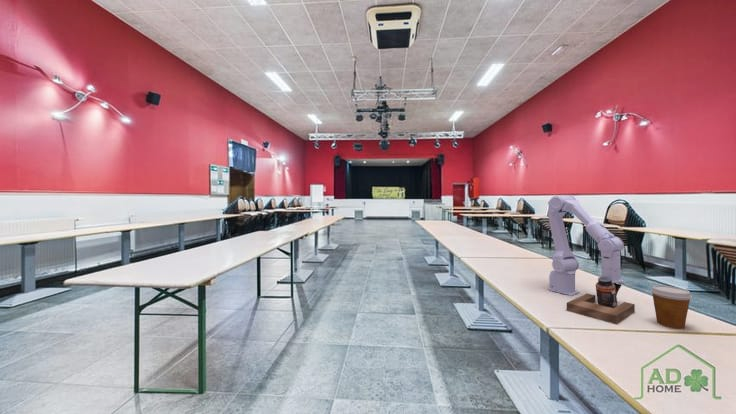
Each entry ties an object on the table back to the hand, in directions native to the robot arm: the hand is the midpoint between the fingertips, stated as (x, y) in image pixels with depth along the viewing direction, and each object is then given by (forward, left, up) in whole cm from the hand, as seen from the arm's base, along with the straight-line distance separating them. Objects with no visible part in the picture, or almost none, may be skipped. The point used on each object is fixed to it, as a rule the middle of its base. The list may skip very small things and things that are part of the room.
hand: (611, 301), depth 112 cm
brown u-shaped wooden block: (0, -10, -1) cm, 10 cm away
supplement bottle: (0, -3, -1) cm, 3 cm away
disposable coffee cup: (+17, -5, -2) cm, 18 cm away
